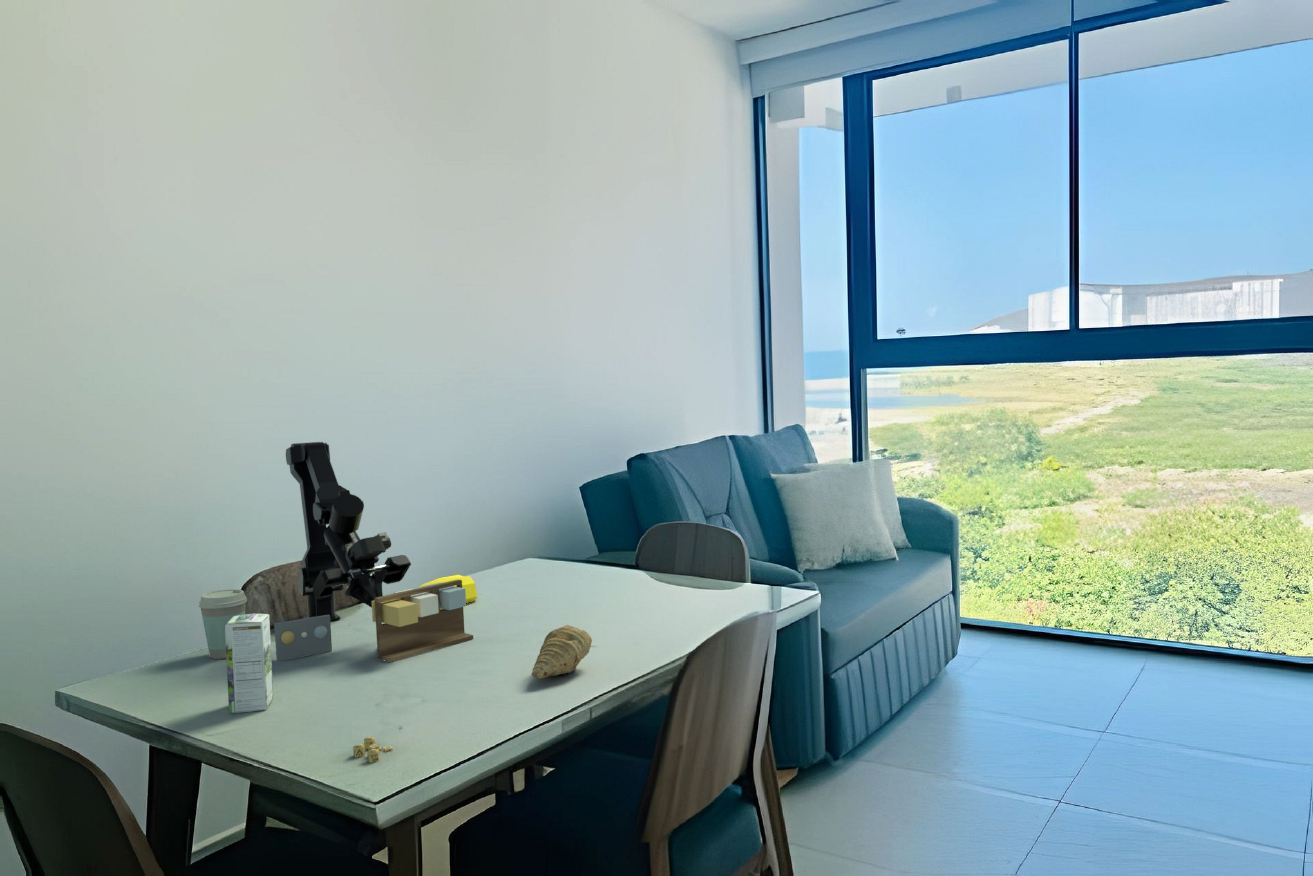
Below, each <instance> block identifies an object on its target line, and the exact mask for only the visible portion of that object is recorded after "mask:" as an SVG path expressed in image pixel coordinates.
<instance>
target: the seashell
mask: <svg viewBox="0 0 1313 876" xmlns="http://www.w3.org/2000/svg"><path fill="white" fill-rule="evenodd" d="M543 640H544V641H543V643H542V644H541V647H540V649H539V654H538V655H537V658H536V660H535V662H534V665H533V668H532V672H531V677H533V678H535V679H538V680H541V679H544V678H547V677H552V676H553V677H555V676H559V675H566V673H568V674H570V673H571V672H574V671H575V670H576V669H577V667H578V665H579V664H580V662H581V661H582V660H583V659H584V658H585V657H586V656H587V655H588V654H589V653H590V649H591V646H592V642H593V639H592V636H591V635H590V634H589V633H588V632H587V631H586V630H584V629H580V628H578V627H575V626H571V625H568V624H566V625H564V626H561V627H558V628H555V629H553V630H551V631H549V633H548V634H547V635H546V636H545V638H544V639H543Z"/></svg>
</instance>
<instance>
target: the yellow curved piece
mask: <svg viewBox="0 0 1313 876" xmlns="http://www.w3.org/2000/svg"><path fill="white" fill-rule="evenodd" d="M458 579H459V580H462V588H465V593H466V603H467V604H470V603H469V602H471V603H474V602H475V601H476V600H477V599H478V592H477V587H476V582H475V581H474V580H473V579H472V577H471V576H470V575H467V576H465V575H461V574H455V575H450V576H444V577H439V578H436V579H434V580H431V581H428V582H425V583H423V584H420V586H419V587H418V588H422V586H426V585H430V584H435V583H439V582H441V583H444V582H449V581H453V580H458ZM455 587H457V586H455ZM441 609H442V608H440V610H441Z"/></svg>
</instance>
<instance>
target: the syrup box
mask: <svg viewBox="0 0 1313 876" xmlns="http://www.w3.org/2000/svg"><path fill="white" fill-rule="evenodd" d="M270 623H271V622H270V614H268V613H248V614H247V613H245V615H238V616H234V617H233V618H232V619H231V620H230V621H229V622H228V623H227V624H226V625H225V637H226V658H225V659H226V677H227V678H226V680H227V695H228V697H227V698H228V712H229V713H230V714H241V713H248V712H249V713H250V712H251V713H252V712H257V711H266V710H267V709H268V708H269V706H270V704H271V703H272V701H273V699H274V688H273V686H274V685H273V682H274V681H273V665H272V660H273V659H272V646H271V645H272V642H271V626H270V625H271V624H270Z"/></svg>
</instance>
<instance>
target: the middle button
mask: <svg viewBox="0 0 1313 876" xmlns="http://www.w3.org/2000/svg"><path fill="white" fill-rule="evenodd" d="M413 589H414V588H413V587H412V588H409V589H405V590H399V591H395V592H394V591H393V593H392V594H395V593H399V592H404V591H408V590H413ZM398 599H399V600H400V598H398ZM411 602H412V603H417V611H418V617H424V616H428V615H432V614H436V613H439V611H438V595H435V594H431V593H426V592H425V593H420V594H416V595H412V596H411Z"/></svg>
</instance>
